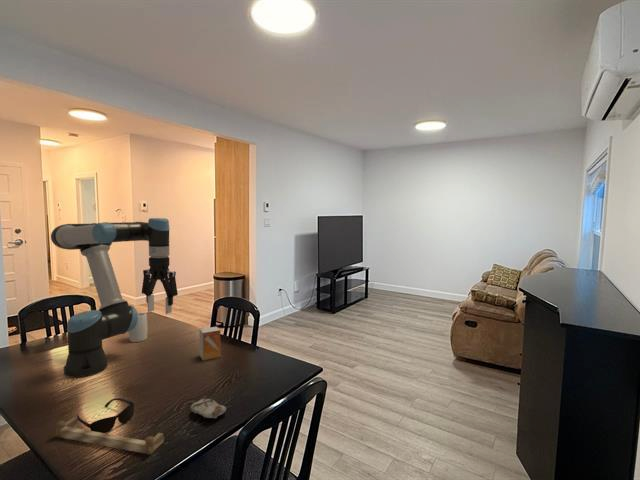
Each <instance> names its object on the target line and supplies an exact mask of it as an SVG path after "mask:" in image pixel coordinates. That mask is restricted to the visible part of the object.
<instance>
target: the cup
mask: <svg viewBox="0 0 640 480" xmlns="http://www.w3.org/2000/svg"><path fill="white" fill-rule="evenodd" d="M137 314H138V320H137V324H136V326H135V328H134V329H133V330H132V331H129V332H128V335H129V342H131V343H132V342H133V343H138V342H144V341H146V340H147V338H148V316H147V313H146V312H137Z"/></svg>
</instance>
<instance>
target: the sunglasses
mask: <svg viewBox="0 0 640 480" xmlns="http://www.w3.org/2000/svg"><path fill="white" fill-rule="evenodd" d="M114 401H120V402H124V403H125V404H127V405H128V406H126V407H125V408H124V409H123V410H122V411H121V412H120V413H118V414H116V415H114V416H108V417H104V418H101V419H97V420H94V421H92V422H91V423H89V422H86V421H85V420H83V419H82V418H81V417H80V415H79V414H77V415H76V418H77V419H78V422H80V423H81V424H82V425H84V426H85V427H87V428H88V429H89V431H94V432H100V433H105V434H108V433H110V432H111V431H112V430H113V428H115V427H114V426H115V425H116V420H118V422H119V423H121V424H126V423H128V422H130V421H131V419H132V418H133V416H134V413H135V412H134V411H135V403H134V402H132V401H130V400H128V399H124V398H119V397H115V398H112V399H110V400H109V401H108V402H107V403H105V404H104V407H106V408H108V407H109V405H111V403H112V402H114Z"/></svg>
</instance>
